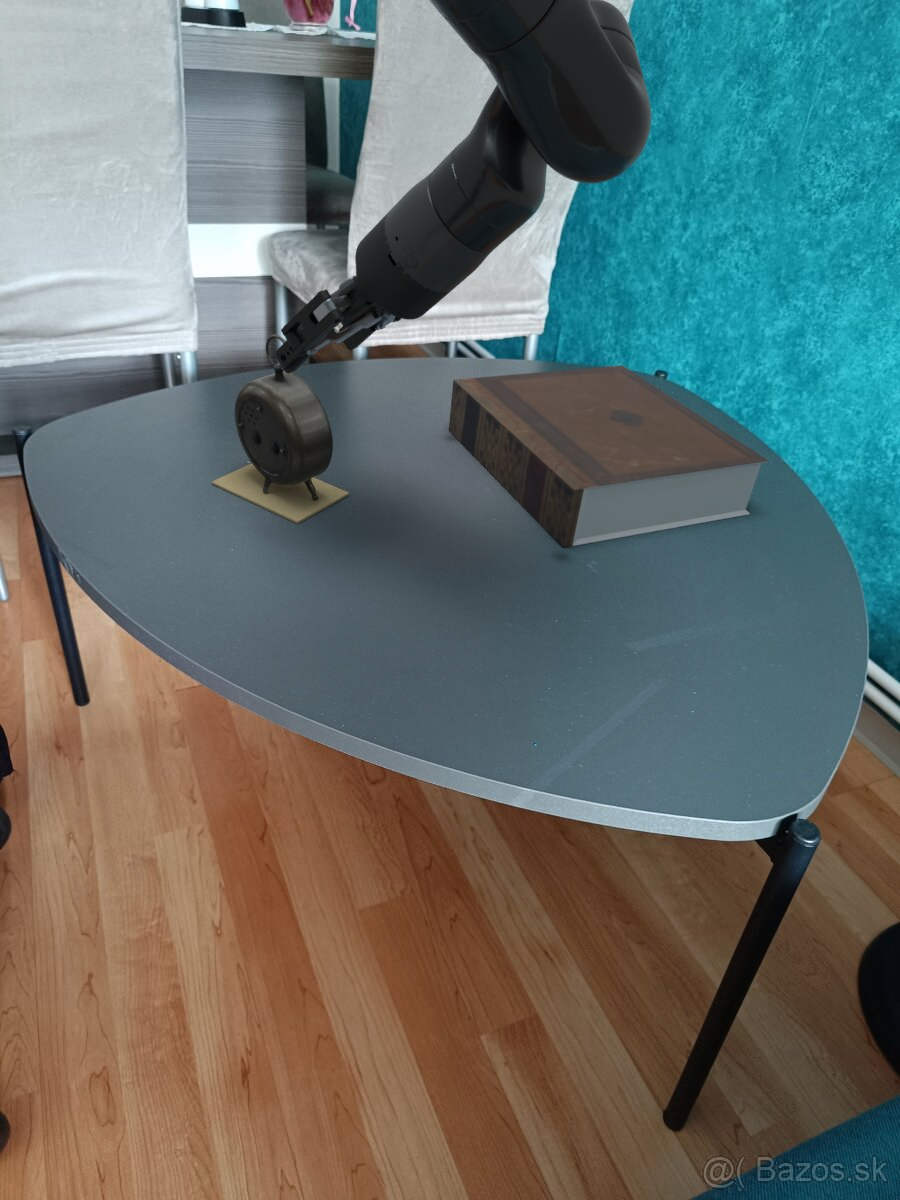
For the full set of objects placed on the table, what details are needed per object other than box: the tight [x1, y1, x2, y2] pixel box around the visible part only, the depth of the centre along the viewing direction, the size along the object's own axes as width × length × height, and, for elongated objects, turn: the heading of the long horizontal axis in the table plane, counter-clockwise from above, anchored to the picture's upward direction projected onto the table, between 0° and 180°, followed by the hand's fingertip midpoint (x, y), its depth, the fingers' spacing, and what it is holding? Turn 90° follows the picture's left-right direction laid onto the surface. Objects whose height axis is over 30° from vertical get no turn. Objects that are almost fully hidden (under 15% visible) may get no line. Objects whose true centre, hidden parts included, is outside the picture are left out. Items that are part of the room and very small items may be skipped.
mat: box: [211, 462, 350, 525], centre depth 88 cm, size 8×12×1 cm, turn 56°
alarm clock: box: [234, 333, 334, 501], centre depth 83 cm, size 11×5×16 cm, turn 47°
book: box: [448, 364, 769, 549], centre depth 96 cm, size 24×28×6 cm
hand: (315, 351), depth 76 cm, fingers open, 8 cm apart
